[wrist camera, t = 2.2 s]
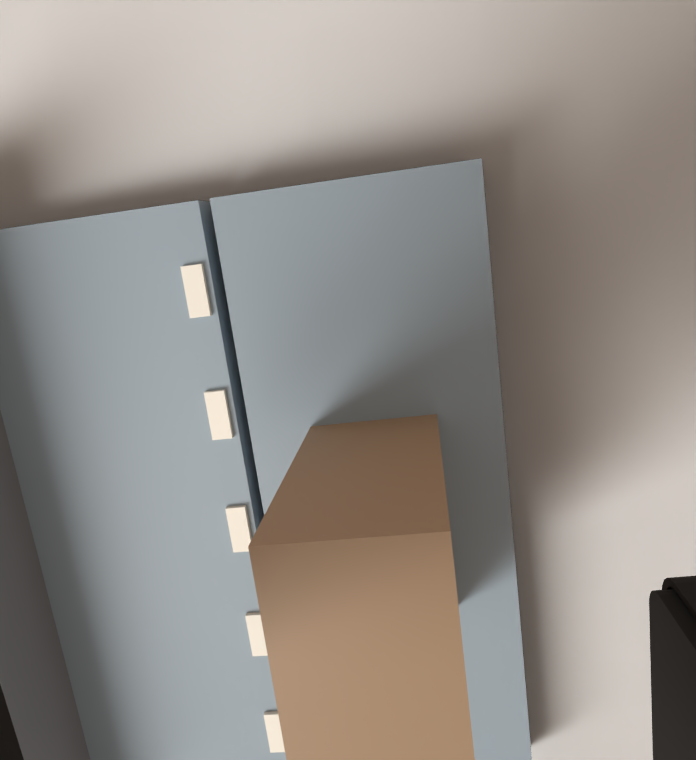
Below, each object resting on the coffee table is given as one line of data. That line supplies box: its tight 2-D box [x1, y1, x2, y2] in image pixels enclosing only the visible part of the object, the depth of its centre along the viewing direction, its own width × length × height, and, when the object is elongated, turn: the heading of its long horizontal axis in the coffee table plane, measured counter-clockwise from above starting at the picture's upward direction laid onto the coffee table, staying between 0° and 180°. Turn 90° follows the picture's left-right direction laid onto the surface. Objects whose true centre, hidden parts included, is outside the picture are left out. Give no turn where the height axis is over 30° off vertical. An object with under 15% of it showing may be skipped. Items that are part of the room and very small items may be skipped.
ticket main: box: [0, 200, 286, 760], centre depth 16 cm, size 9×17×4 cm, turn 7°
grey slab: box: [210, 158, 532, 760], centre depth 14 cm, size 6×16×7 cm, turn 8°
